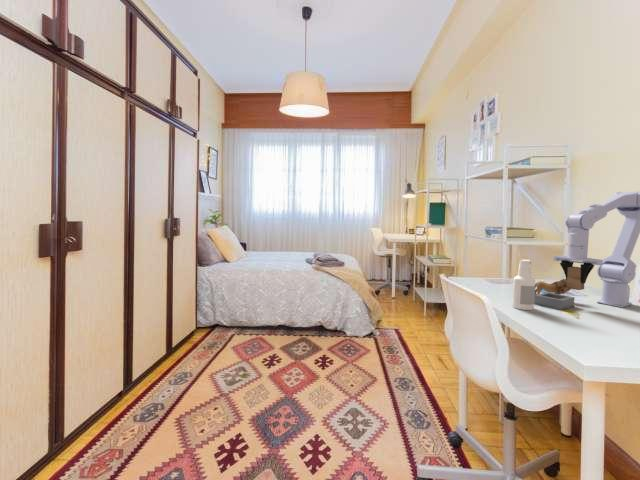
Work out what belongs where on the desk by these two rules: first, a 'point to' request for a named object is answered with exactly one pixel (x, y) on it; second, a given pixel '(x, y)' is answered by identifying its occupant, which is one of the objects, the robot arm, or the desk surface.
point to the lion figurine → (552, 287)
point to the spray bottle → (524, 287)
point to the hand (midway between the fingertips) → (575, 281)
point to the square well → (554, 300)
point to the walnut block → (574, 278)
